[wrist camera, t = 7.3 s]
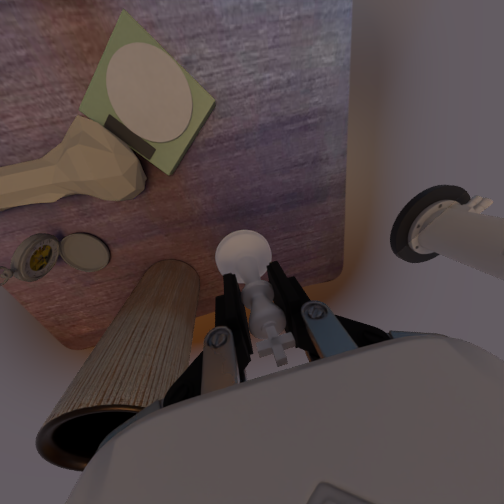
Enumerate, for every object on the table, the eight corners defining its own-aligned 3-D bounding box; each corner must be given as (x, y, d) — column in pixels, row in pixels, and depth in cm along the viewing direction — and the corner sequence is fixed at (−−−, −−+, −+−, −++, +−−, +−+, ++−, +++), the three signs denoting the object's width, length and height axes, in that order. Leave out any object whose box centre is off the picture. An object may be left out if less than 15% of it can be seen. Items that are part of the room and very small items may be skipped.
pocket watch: (119, 263, 32) (80, 302, 23) (69, 275, 31) (9, 320, 22) (91, 217, 28) (32, 242, 19) (34, 231, 28) (-54, 262, 19)
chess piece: (207, 238, 15) (204, 340, 6) (265, 223, 16) (338, 299, 7) (223, 285, 17) (237, 411, 9) (273, 271, 18) (336, 376, 9)
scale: (132, 23, 21) (120, 3, 18) (215, 105, 25) (215, 98, 22) (91, 114, 23) (74, 108, 21) (172, 174, 28) (167, 175, 25)
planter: (159, 309, 37) (88, 484, 17) (133, 268, 33) (-7, 439, 12) (207, 294, 38) (195, 448, 17) (188, 252, 33) (141, 391, 13)
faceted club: (165, 199, 28) (-3, 235, 27) (147, 138, 26) (-32, 174, 26) (131, 191, 19) (-116, 243, 19) (101, 99, 18) (-171, 152, 17)
